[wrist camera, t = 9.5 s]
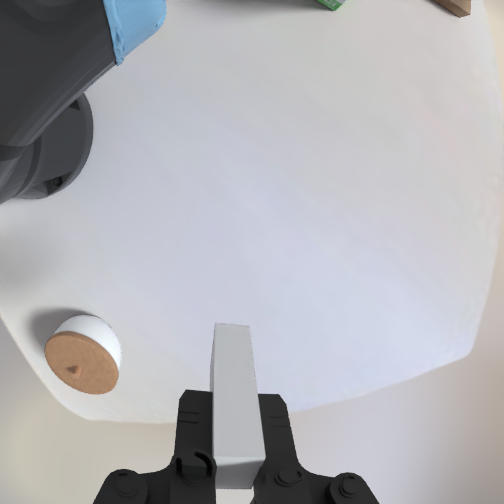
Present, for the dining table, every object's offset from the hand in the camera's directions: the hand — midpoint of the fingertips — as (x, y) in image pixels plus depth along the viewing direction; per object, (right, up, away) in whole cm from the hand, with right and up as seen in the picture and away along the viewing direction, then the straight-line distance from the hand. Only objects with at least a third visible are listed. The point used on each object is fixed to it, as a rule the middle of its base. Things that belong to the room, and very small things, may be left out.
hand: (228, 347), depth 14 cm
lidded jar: (-22, -7, +27) cm, 36 cm away
